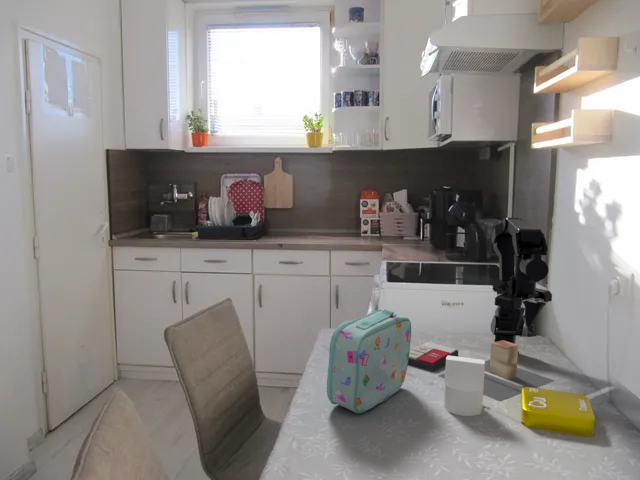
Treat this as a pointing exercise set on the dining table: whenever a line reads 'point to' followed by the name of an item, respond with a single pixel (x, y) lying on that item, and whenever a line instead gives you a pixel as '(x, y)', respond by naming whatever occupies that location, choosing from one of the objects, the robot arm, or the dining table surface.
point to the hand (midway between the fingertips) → (521, 328)
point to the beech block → (504, 359)
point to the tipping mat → (509, 383)
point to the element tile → (557, 411)
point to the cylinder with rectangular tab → (464, 385)
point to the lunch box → (368, 360)
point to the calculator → (430, 356)
